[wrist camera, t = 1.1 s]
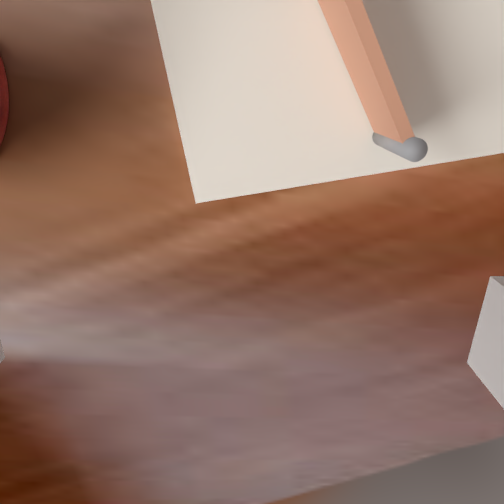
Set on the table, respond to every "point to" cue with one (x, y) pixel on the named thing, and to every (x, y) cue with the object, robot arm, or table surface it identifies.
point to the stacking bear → (3, 101)
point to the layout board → (324, 89)
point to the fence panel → (372, 78)
